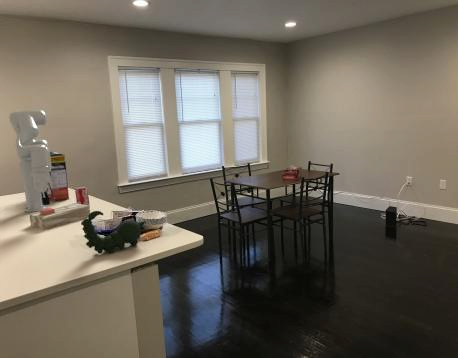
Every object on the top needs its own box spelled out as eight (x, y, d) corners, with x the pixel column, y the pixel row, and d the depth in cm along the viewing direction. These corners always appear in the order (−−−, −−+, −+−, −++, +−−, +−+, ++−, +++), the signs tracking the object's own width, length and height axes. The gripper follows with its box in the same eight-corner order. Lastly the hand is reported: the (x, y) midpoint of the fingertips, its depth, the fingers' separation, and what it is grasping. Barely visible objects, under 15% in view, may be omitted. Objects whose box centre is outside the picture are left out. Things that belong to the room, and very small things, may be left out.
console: (31, 225, 193) (29, 214, 192) (76, 213, 213) (74, 203, 212) (45, 229, 185) (43, 217, 184) (90, 215, 205) (89, 205, 204)
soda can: (85, 209, 220) (83, 188, 218) (75, 209, 221) (72, 188, 219) (92, 206, 227) (89, 186, 224) (81, 206, 228) (79, 186, 226)
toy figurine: (94, 264, 141) (153, 242, 155) (83, 217, 136) (145, 199, 150) (87, 257, 148) (144, 237, 162) (76, 213, 144) (136, 196, 158)
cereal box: (70, 199, 252) (65, 152, 247) (52, 201, 246) (46, 154, 241) (62, 193, 274) (58, 151, 269) (46, 196, 268) (41, 152, 263)
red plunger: (40, 217, 192) (39, 210, 191) (50, 215, 196) (49, 207, 195) (46, 218, 189) (44, 211, 189) (55, 216, 193) (54, 208, 193)
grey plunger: (66, 214, 204) (65, 207, 203) (74, 211, 208) (73, 205, 207) (71, 215, 201) (70, 208, 200) (79, 212, 205) (78, 205, 204)
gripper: (26, 170, 189) (31, 205, 193) (41, 171, 181) (47, 207, 184) (40, 168, 195) (45, 201, 199) (56, 169, 187) (61, 204, 190)
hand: (46, 204), depth 191 cm, fingers closed
